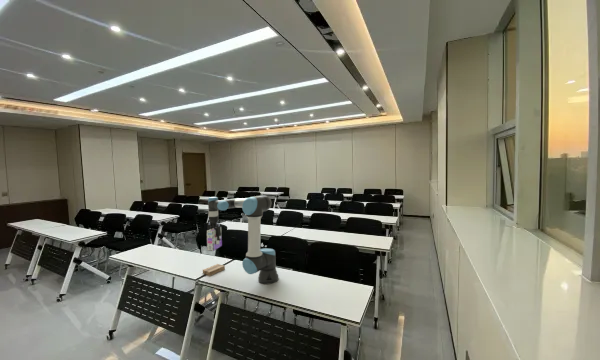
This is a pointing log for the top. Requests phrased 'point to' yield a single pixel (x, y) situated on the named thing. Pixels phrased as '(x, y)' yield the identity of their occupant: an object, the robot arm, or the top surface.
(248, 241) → the robot arm
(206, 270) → the plinth
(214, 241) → the candy box
